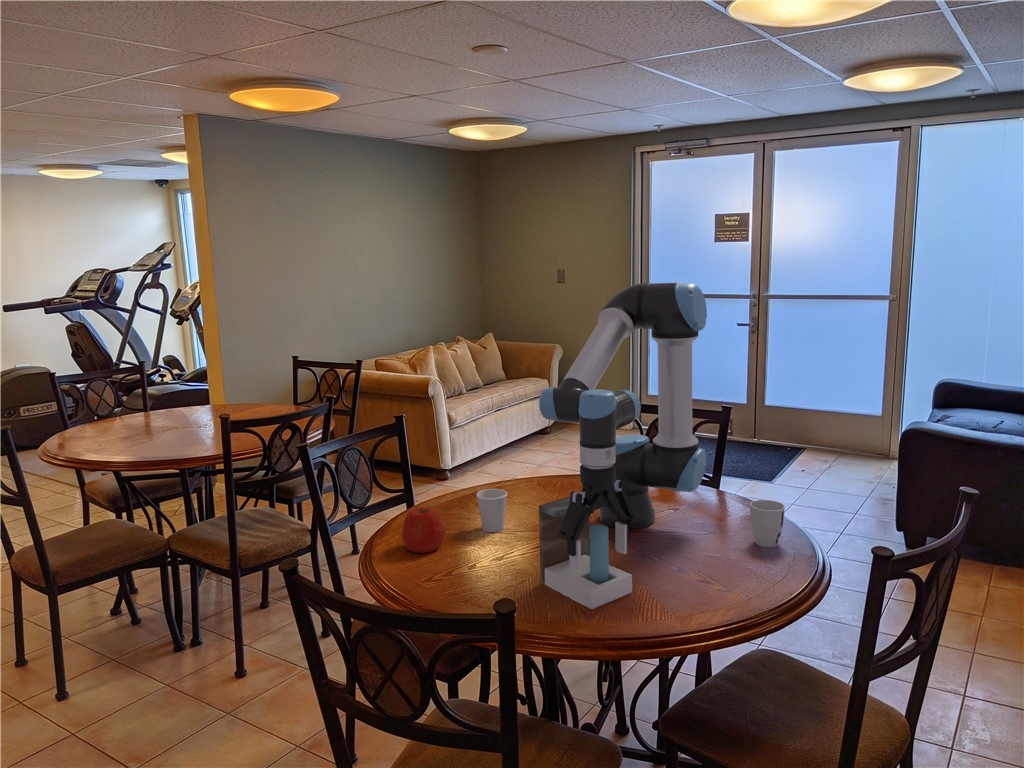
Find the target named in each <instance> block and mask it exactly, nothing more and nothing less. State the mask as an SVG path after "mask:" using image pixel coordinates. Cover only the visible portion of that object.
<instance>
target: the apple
mask: <svg viewBox="0 0 1024 768" xmlns="http://www.w3.org/2000/svg"><path fill="white" fill-rule="evenodd" d="M401 534H402V542H403V545H404V547H405V548H406V549H407V550H408V551H409V552H411V553H417V554H426V552H427V553H431V552H433V551H436V550H437V549H439V548H440V546H441V545H442V544H443V541H444V540H445V539H444V538H445V536H446V525H445V523H444V521H443V518H442V517H441V515H440V513H439V512H438V511H436V510H435V509H433V508H431V507H425V506H423V507H415V508H413V509H411V510H409V512H408V513H407V514H406V516H405V517H404V521H403V525H402V533H401Z"/></svg>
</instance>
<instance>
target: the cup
mask: <svg viewBox="0 0 1024 768" xmlns="http://www.w3.org/2000/svg"><path fill="white" fill-rule="evenodd" d="M749 508H750V523H751V530H752V531H751V532H752V535H753V538H754V541H755V544H756V545H757V546H759V547H763V548H775V547H777V546H778V544H779V540H780V539H781V535H782V530H783V527H784V526H783V525H784V520H785V510H786V509H785V508H786V506H785V504H783V502H779V501H776V500H768V499H756V500H753V501H751V502H750V503H749Z"/></svg>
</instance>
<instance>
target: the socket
mask: <svg viewBox="0 0 1024 768" xmlns="http://www.w3.org/2000/svg"><path fill="white" fill-rule="evenodd" d="M545 585H547V586H548V588H549V587H550V588H549V589H551V588H552V589H551V590H553V589H554V590H553V591H555V590H556V591H555V592H557V591H558V592H557V593H559V592H560V593H559V594H561V593H562V594H561V595H563V596H565V597H566V598H568V597H569V599H571V600H573V601H574V602H577V604H578V603H579V604H580V605H583V606H584V607H586V608H588V609H590V610H594V609H596V608H598V607H601V606H604V605H605V604H608V603H610V602H613V601H615V600H617V599H620V598H622V597H625V596H627V595H629V594H631V593H633V574H631V573H629V572H627V571H624V570H622V569H619V568H617V567H615V566H613V565H610V564H609V581H607V582H605V583H602V584H600V585H598V584H596V583H594V582H592V581H590V557H589V556H587V555H585V554H584V555H581V571H576V570H574V569H572V568H570V564H569V560H567V561H564V562H561V563H559V564H556V565H553V566H550V567H547V568H545V584H544V586H545ZM547 586H546V587H547Z"/></svg>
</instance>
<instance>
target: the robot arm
mask: <svg viewBox="0 0 1024 768" xmlns="http://www.w3.org/2000/svg"><path fill="white" fill-rule="evenodd" d="M707 309H708V308H707V302H706V298H705V296H704V293H703V291H702V289H701V287H700V286H698V285H697V284H695V283H691V282H690V283H689V282H688V283H687V282H681V281H680V282H661V283H660V282H659V283H658V282H657V283H656V282H655V283H653V282H652V283H649V282H641V283H637V284H636V283H635V284H632V285H630V286H628V287H626V288H624V289H622V290H621V291H620V292H618V293H617V294H615V295H614V296H612V298H610V299H609V300H608V301H607V302H606V304H605V305H604V306H603V307H602V308H601V311H600V312H599V313H598V316H597V324H596V326H595V328H594V329H593V331H592V333H591V334H590V336H589V338H588V339H587V340H586V342H585V344H584V345H583V347H582V349H581V350H580V351H579V354H578V355H577V356H576V359H575V360H574V362H572V365H571V366H570V368H569V370H568V371H567V372H566V374H565V376H564V377H563V379H562V380H561V382H560V384H559V385H558V387H555V386H553V387H547V388H545V389H544V390H542V392H541V393H540V396H539V401H538V406H539V412H540V415H541V416H542V417H543V418H544V419H545V420H549V421H553V422H554V421H555V422H559V423H561V422H562V423H563V422H564V423H575V424H578V425H579V426H578V427H579V463H580V464H581V465H580V466H579V481H580V483H581V485H582V488H581V491H579V492H578V491H577V492H575V491H571V492H570V494H569V497H570V503H569V506H568V509H567V512H566V515H565V518H564V521H563V524H562V527H561V530H560V533H559V537H560V538H562V539H564V540H567V553H568V555H569V564H570V568H572V569H574V570H576V571H581V541H580V540H578V537H579V536H580V534H581V532H582V530H583V528H584V526H585V524H586V522H587V520H588V518H589V519H590V516H591V515H592V514H594V513H595V511H596V510H599V521H600V522H601V523H602V524H603V525H605V526H609V527H612V528H615V529H614V530H615V532H614V533H615V534H614V535H615V536H614V537H615V540H614V541H615V544H614V545H615V551H616V552H618V553H621V554H622V555H626V554H627V553H628V547H627V546H628V537H629V529H641V528H645V527H649V526H650V525H652V524H654V523H655V522H656V512H655V509H654V508H653V503H652V500H651V496H650V493H649V490H650V489H649V488H655V489H662V490H667V491H673V492H674V491H675V492H677V493H680V492H681V493H682V492H683V493H693V492H695V491H696V490H697V489H699V486H700V485H701V483H702V480H703V478H704V475H705V471H706V466H707V453H706V450H705V449H703V448H702V447H699V438H697V437H696V435H694V434H693V343H694V342H695V340H696V339H697V338H699V332H700V331H702V330H704V328H705V327H706V324H707V318H708V310H707ZM639 329H644V330H651V339H653V341H655V343H656V345H657V395H658V396H657V397H658V401H657V403H658V410H657V411H658V415H657V416H658V433H657V434H656V436H655V437H653V439H652V443H651V442H650V437H648V436H647V435H644V434H630V435H628V434H627V435H622V436H618V437H617V430H618V429H621V428H623V427H625V426H627V425H631V423H633V421H635V420H636V419H637V418H638V417H639V416H640V413H641V410H642V409H641V408H642V405H641V402H640V399H639V397H638V395H636V394H635V392H633V391H631V390H627V389H622V390H619V389H618V390H616V391H612V390H609V389H597V388H596V387H597V386H598V384H599V382H600V381H601V379H602V377H603V375H604V374H605V372H606V370H607V368H608V367H609V365H610V363H611V362H612V360H613V358H614V357H615V355H616V353H617V351H618V350H619V348H620V347H621V344H622V343H623V341H624V339H626V338H628V337H630V336H631V335H632V334H633V332H634V331H635V330H639ZM586 504H587V505H588V507H586ZM573 533H574V535H572V534H573Z"/></svg>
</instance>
